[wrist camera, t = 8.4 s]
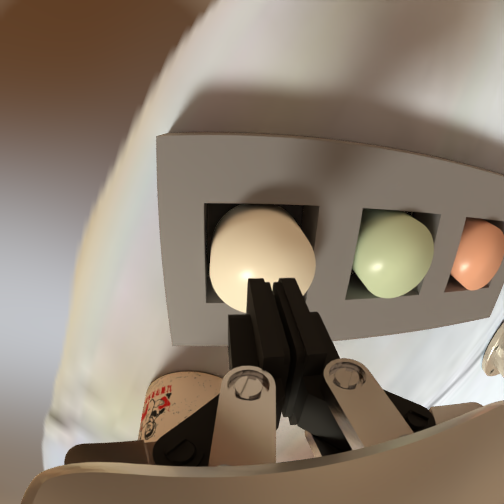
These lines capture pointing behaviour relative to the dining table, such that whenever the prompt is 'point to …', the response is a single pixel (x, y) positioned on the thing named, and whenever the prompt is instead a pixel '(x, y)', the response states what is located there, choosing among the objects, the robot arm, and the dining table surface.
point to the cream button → (258, 251)
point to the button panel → (320, 226)
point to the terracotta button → (478, 253)
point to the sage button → (391, 252)
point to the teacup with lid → (175, 401)
